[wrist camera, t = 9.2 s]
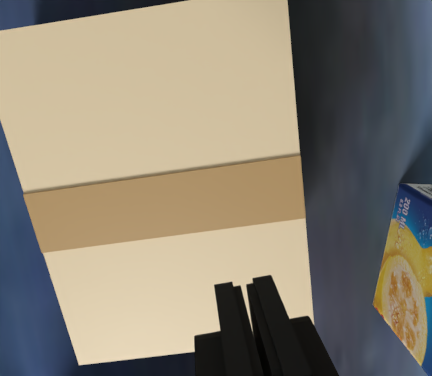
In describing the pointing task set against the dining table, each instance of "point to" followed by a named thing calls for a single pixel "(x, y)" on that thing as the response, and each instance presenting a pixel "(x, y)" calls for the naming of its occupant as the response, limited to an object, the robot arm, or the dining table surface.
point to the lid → (158, 167)
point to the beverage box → (409, 272)
